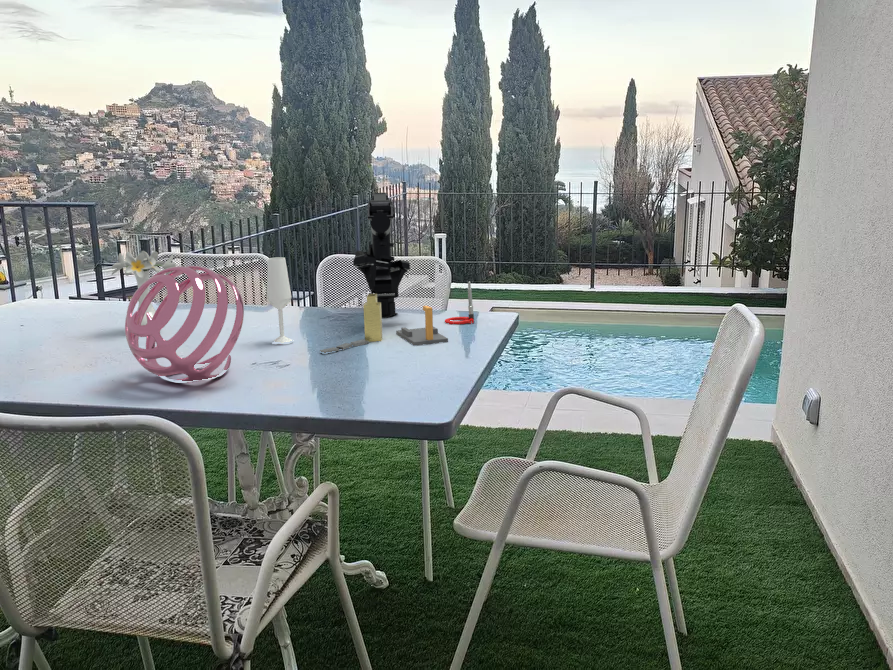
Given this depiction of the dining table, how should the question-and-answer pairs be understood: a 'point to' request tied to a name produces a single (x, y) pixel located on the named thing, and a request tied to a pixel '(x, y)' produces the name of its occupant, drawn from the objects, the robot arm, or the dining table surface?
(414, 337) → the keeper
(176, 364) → the pink lattice ball
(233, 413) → the dining table surface
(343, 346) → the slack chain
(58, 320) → the dining table surface
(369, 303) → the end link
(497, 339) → the dining table surface
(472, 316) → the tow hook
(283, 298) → the champagne flute
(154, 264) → the flower vase
